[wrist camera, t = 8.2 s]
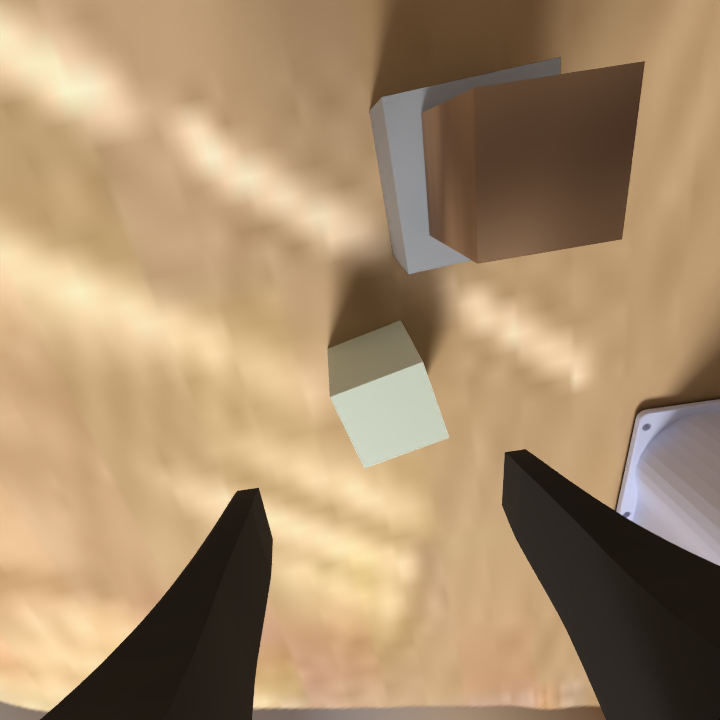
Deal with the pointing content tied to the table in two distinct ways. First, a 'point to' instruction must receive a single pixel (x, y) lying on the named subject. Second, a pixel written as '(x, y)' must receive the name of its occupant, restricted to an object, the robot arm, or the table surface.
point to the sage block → (384, 395)
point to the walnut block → (532, 163)
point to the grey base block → (407, 167)
